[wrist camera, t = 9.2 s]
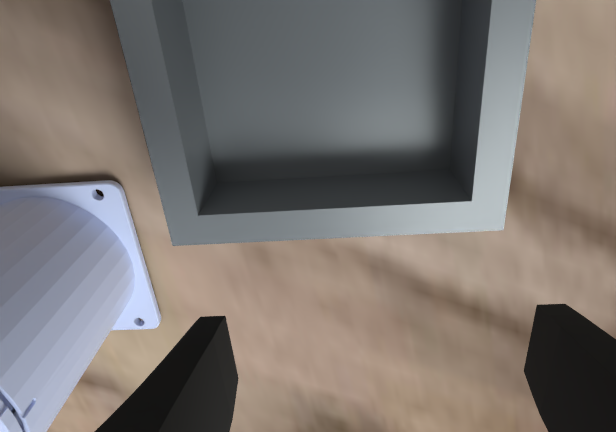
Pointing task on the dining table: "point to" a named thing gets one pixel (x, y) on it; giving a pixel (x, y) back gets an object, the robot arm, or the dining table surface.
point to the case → (327, 114)
